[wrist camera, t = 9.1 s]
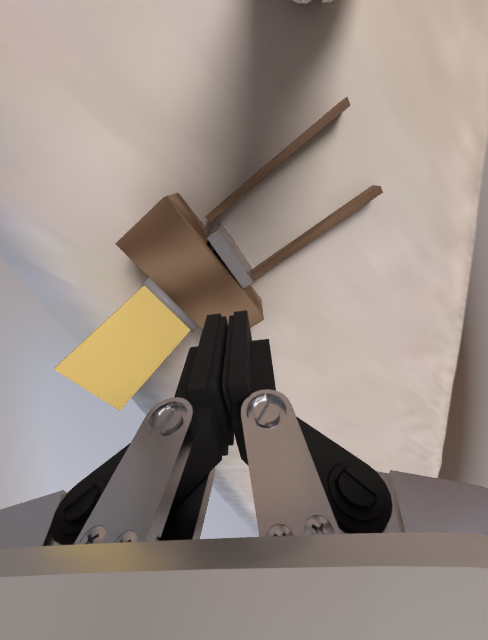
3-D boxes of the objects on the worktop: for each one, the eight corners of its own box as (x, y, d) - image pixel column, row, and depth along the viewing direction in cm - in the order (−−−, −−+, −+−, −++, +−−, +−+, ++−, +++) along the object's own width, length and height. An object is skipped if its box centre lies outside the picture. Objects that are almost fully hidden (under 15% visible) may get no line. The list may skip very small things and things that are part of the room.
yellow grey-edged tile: (52, 366, 18) (50, 368, 17) (147, 278, 22) (150, 276, 21) (120, 409, 21) (122, 413, 20) (195, 324, 25) (198, 325, 24)
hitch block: (136, 232, 24) (115, 243, 20) (322, 56, 17) (344, 23, 14) (222, 323, 30) (219, 346, 26) (386, 219, 23) (414, 229, 20)
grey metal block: (176, 314, 30) (168, 333, 26) (142, 278, 27) (128, 294, 24) (252, 268, 26) (253, 282, 23) (221, 221, 24) (217, 230, 20)
